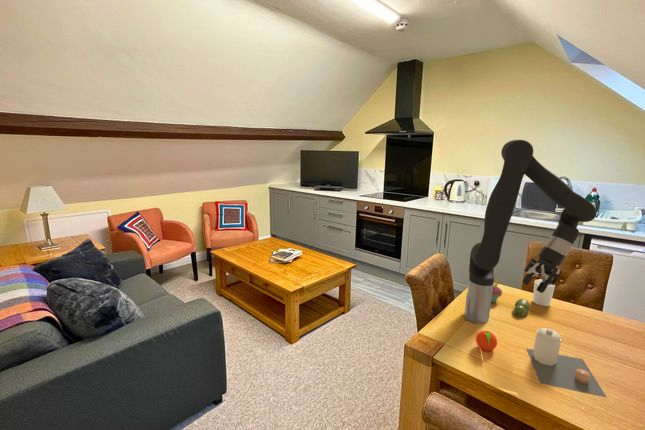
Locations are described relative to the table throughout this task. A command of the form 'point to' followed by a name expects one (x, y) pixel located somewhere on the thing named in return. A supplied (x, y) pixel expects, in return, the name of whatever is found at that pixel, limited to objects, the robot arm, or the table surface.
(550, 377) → the mat
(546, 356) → the white lidded jar
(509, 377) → the table surface
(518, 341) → the table surface
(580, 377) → the peach round piece
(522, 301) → the pear
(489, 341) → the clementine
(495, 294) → the cupcake
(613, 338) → the table surface
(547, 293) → the white cup
